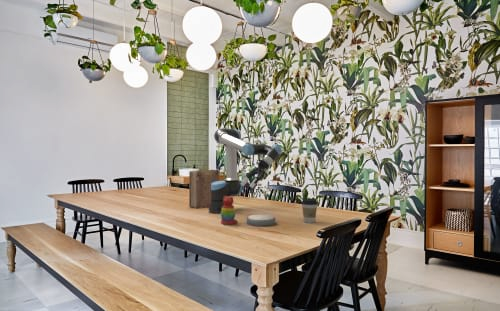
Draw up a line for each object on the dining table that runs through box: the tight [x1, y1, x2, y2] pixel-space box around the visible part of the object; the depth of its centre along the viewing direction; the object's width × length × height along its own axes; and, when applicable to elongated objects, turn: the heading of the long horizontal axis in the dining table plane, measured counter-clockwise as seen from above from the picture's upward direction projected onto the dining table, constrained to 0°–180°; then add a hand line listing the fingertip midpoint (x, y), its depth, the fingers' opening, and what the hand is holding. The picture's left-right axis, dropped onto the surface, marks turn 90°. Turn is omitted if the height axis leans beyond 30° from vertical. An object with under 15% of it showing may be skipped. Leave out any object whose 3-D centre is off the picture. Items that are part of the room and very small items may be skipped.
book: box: [188, 169, 220, 209], centre depth 295 cm, size 25×9×30 cm, turn 138°
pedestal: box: [246, 214, 276, 227], centre depth 230 cm, size 19×19×4 cm
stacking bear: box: [220, 196, 239, 226], centre depth 230 cm, size 11×10×18 cm
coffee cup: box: [300, 198, 319, 224], centre depth 235 cm, size 11×11×15 cm
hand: (246, 186), depth 235 cm, fingers open, 13 cm apart
